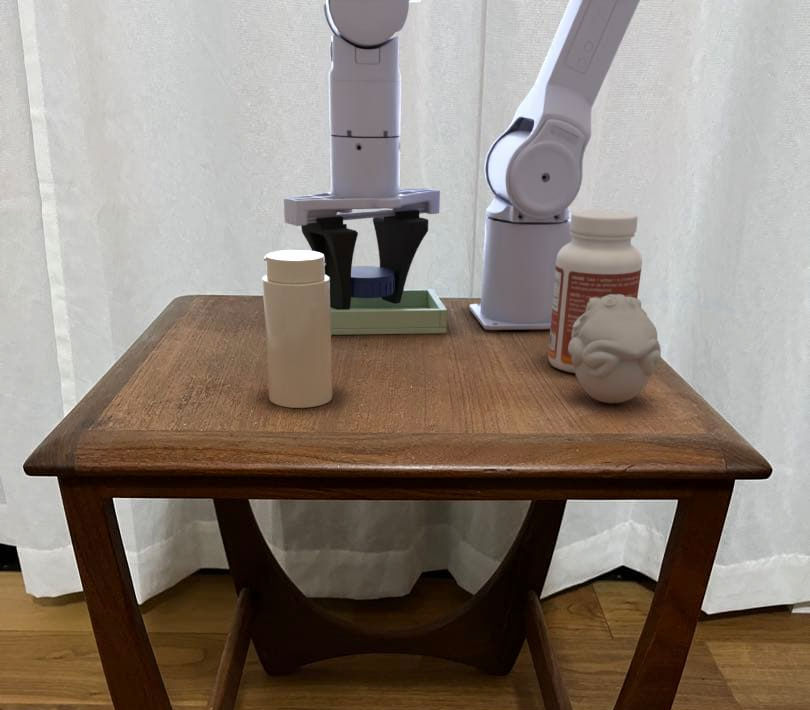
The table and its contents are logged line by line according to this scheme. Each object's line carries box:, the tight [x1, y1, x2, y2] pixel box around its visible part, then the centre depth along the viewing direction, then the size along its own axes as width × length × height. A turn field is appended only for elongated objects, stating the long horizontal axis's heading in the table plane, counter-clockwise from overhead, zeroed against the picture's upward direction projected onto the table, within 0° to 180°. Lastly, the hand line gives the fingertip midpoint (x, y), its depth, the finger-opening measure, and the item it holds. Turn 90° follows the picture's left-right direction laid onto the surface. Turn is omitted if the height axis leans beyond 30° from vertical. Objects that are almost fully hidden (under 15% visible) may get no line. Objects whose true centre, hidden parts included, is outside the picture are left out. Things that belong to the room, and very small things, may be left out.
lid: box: [351, 265, 395, 298], centre depth 76 cm, size 5×5×2 cm
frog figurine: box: [568, 294, 662, 404], centre depth 59 cm, size 6×7×7 cm
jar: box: [261, 249, 333, 409], centre depth 57 cm, size 4×4×9 cm
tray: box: [330, 288, 448, 336], centre depth 77 cm, size 13×8×2 cm, turn 97°
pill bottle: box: [547, 209, 643, 374], centre depth 65 cm, size 6×6×11 cm
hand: (365, 305), depth 77 cm, fingers closed on lid, 5 cm apart
